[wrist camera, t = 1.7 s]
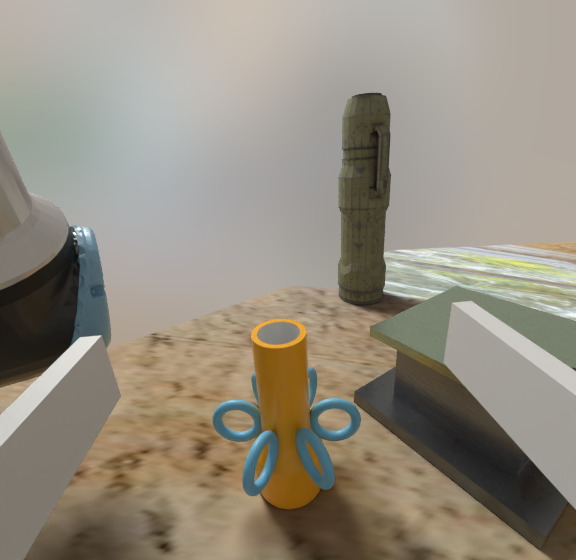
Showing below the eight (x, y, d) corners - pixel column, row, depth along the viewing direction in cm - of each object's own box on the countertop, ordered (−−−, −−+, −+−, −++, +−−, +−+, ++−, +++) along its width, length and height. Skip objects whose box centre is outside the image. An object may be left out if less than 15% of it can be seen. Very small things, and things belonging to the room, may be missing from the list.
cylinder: (383, 502, 26) (396, 347, 20) (272, 590, 21) (248, 418, 15) (301, 409, 36) (295, 288, 30) (213, 454, 31) (185, 320, 25)
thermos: (361, 281, 69) (366, 102, 57) (398, 301, 59) (415, 88, 46) (326, 289, 66) (323, 102, 53) (359, 312, 56) (366, 87, 43)
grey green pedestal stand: (354, 401, 36) (356, 326, 32) (443, 345, 45) (453, 281, 41) (540, 550, 22) (580, 446, 18) (615, 425, 31) (653, 339, 27)
